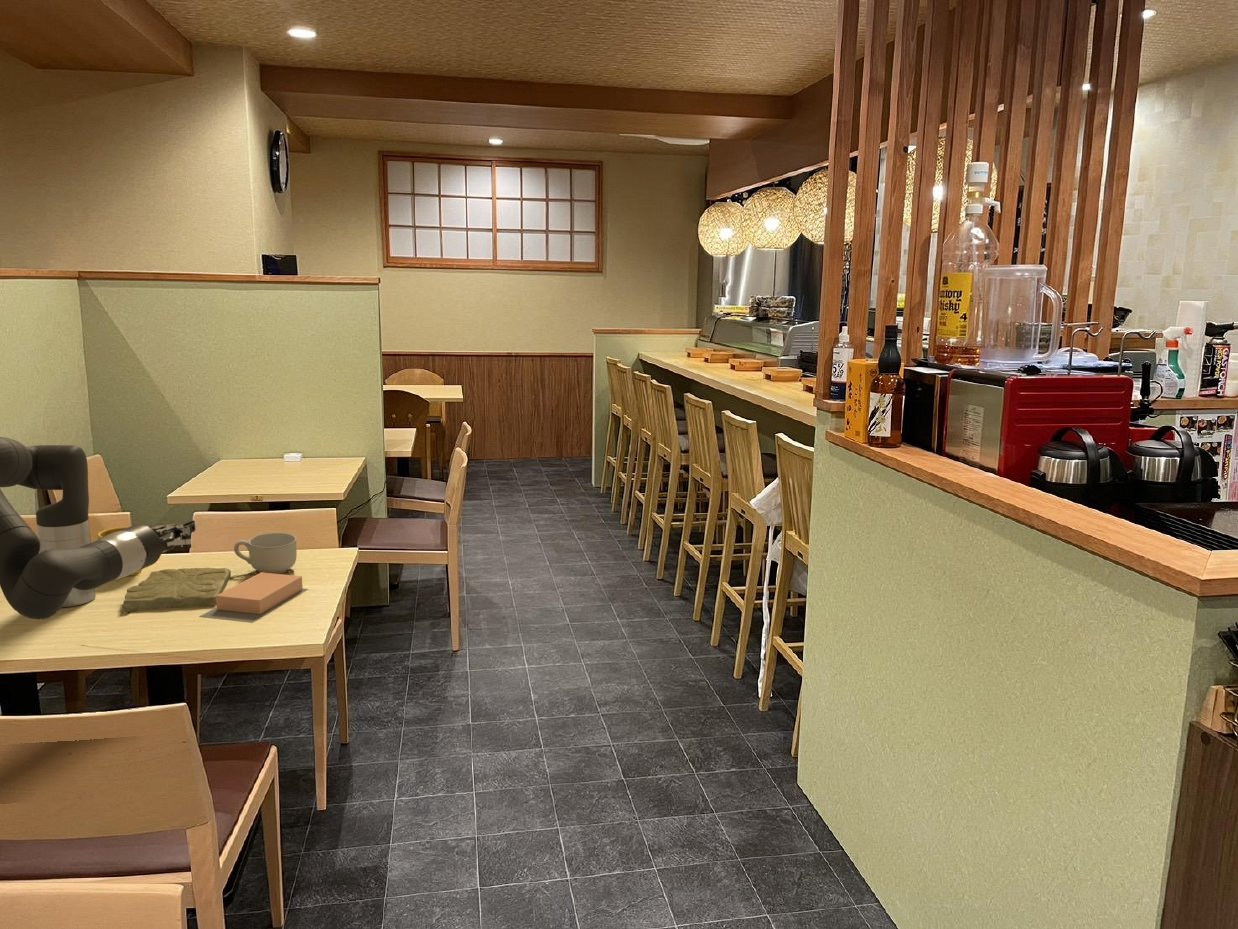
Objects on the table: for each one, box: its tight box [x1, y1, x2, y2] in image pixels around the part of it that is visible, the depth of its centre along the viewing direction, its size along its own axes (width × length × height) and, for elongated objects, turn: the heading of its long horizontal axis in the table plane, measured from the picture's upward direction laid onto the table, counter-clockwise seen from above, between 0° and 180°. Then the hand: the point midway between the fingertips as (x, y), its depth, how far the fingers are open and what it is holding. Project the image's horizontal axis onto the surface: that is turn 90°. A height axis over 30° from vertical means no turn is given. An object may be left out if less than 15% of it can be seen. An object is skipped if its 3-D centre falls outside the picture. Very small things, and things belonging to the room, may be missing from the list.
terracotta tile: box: [216, 572, 304, 614], centre depth 191 cm, size 10×3×16 cm
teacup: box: [233, 532, 298, 574], centre depth 210 cm, size 14×11×8 cm
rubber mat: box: [199, 588, 309, 624], centre depth 189 cm, size 12×21×1 cm, turn 169°
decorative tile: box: [122, 567, 232, 613], centre depth 193 cm, size 19×20×4 cm
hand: (191, 525), depth 167 cm, fingers closed
